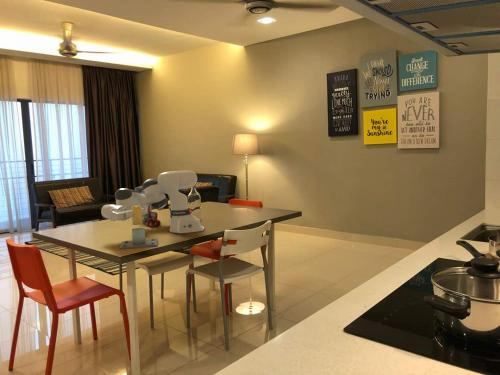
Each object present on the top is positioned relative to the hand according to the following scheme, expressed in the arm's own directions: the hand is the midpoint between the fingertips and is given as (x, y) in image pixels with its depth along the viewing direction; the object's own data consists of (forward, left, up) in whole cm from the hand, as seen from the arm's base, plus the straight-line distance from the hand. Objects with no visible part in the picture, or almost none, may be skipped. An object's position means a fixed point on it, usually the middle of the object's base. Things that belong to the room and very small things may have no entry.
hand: (138, 214), depth 229 cm
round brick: (+1, -1, -6) cm, 6 cm away
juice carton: (+1, -76, -18) cm, 78 cm away
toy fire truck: (-6, -53, -18) cm, 56 cm away
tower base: (0, -1, -18) cm, 18 cm away
